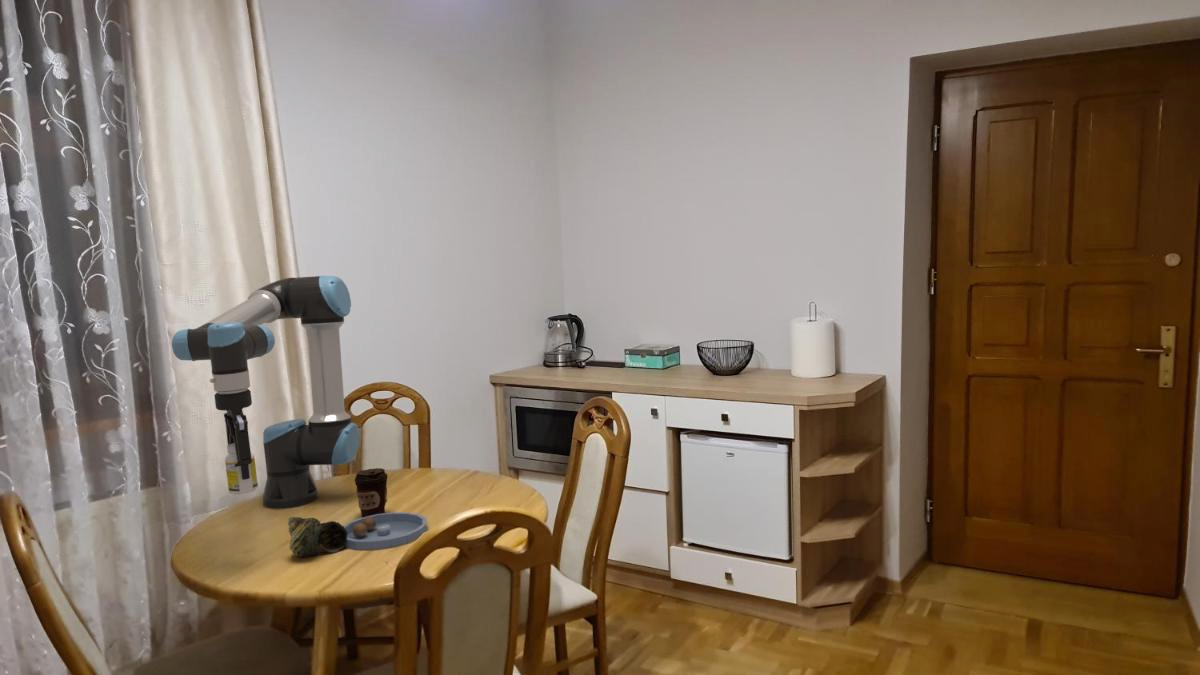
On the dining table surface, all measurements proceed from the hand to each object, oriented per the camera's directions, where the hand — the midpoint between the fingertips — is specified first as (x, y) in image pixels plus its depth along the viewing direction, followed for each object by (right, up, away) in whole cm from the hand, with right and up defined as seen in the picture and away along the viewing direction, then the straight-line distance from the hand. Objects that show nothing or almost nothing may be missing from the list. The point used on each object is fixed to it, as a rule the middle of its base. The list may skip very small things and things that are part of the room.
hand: (243, 488), depth 184 cm
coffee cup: (+22, -14, +28) cm, 38 cm away
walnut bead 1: (+23, -14, +12) cm, 30 cm away
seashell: (+16, -17, +2) cm, 23 cm away
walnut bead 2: (+24, -14, +16) cm, 32 cm away
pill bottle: (0, -1, 0) cm, 1 cm away
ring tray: (+29, -15, +13) cm, 35 cm away
